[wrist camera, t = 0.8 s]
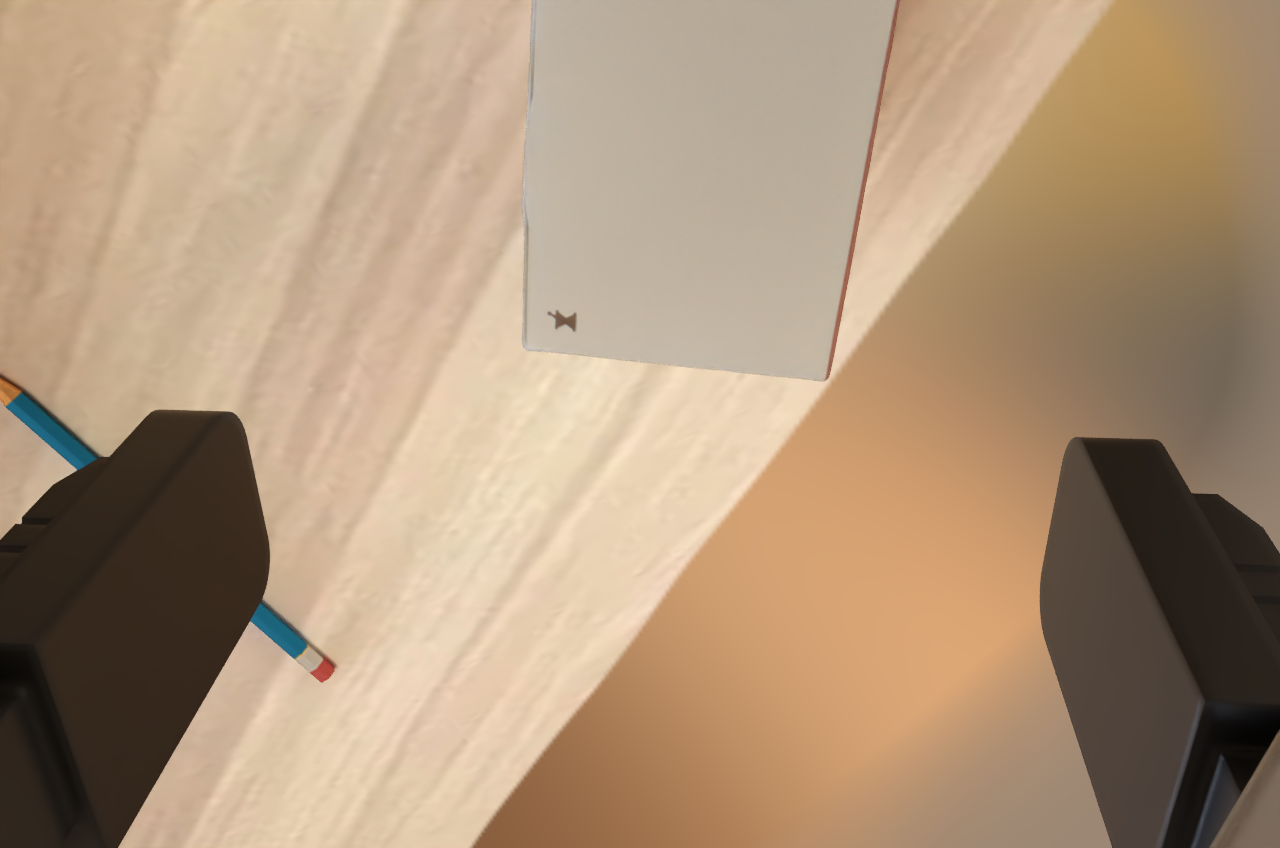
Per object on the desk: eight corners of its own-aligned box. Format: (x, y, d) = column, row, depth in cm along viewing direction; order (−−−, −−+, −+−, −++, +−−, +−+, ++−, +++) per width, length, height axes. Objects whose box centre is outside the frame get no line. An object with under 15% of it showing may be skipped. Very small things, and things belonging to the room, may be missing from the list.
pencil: (324, 672, 47) (318, 685, 46) (-28, 363, 41) (-40, 373, 40) (337, 664, 46) (332, 676, 46) (-15, 351, 40) (-27, 361, 40)
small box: (807, 174, 34) (830, 394, 23) (591, 151, 35) (512, 358, 23) (855, -129, 30) (911, -37, 19) (610, -153, 30) (524, -76, 19)
